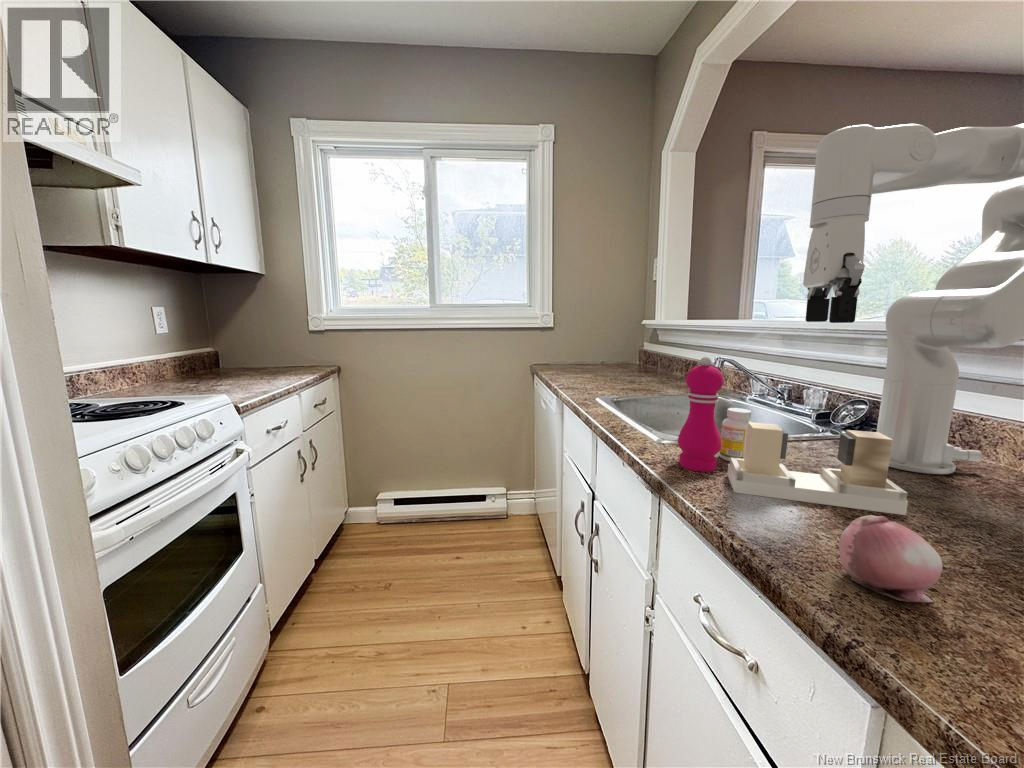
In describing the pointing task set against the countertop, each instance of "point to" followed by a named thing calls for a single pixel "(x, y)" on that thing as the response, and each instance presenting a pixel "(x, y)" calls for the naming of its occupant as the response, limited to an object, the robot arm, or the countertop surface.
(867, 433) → the block
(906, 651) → the countertop surface
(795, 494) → the rail
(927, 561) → the pink shallot
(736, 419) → the supplement bottle
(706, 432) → the pepper mill
